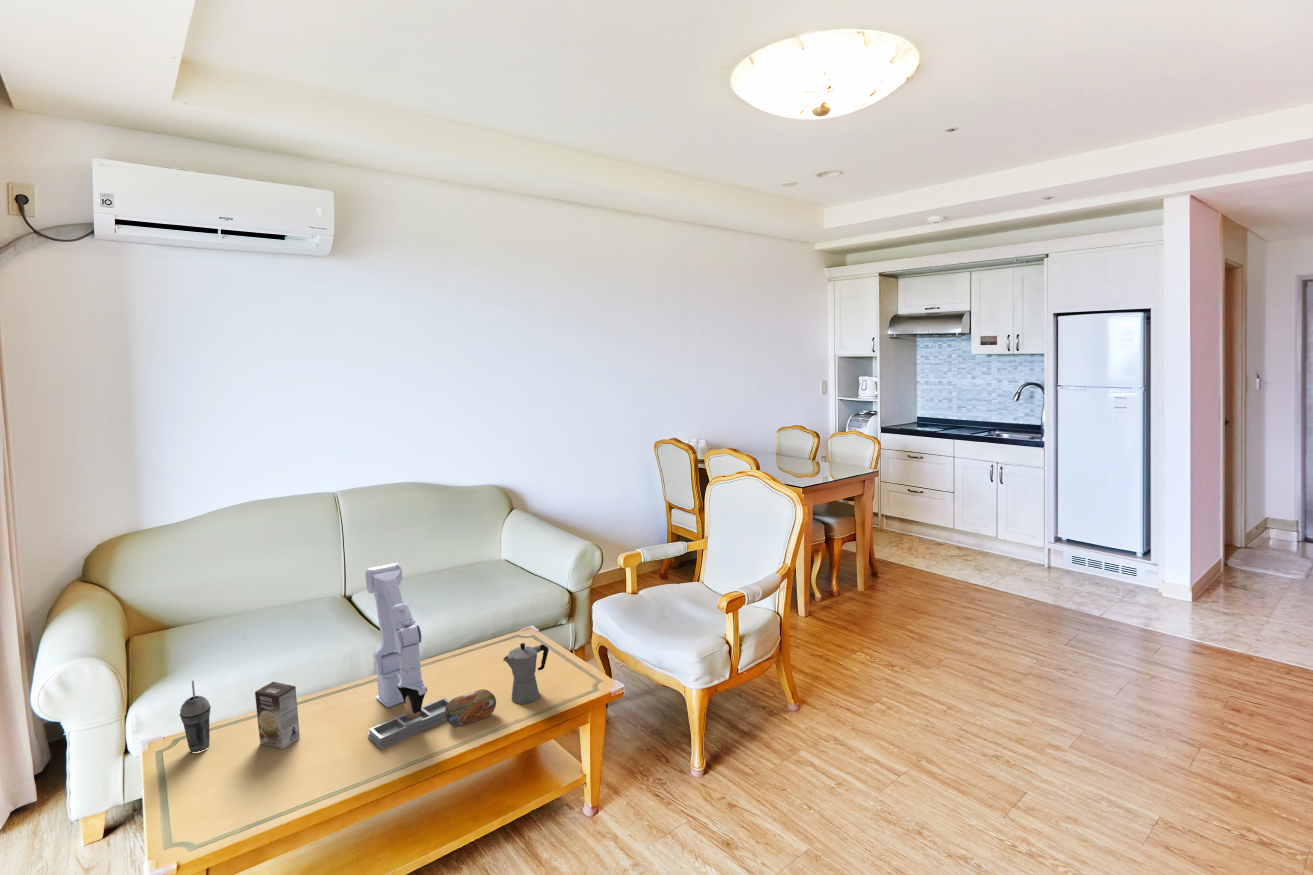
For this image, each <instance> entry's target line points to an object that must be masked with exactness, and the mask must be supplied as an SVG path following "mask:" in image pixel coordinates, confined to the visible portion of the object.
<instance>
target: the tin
mask: <svg viewBox="0 0 1313 875" xmlns="http://www.w3.org/2000/svg"><path fill="white" fill-rule="evenodd" d="M496 698H497V697H495V695H494V694H493V693H492V692H491V691H490V690H488V689H484V688H483V689H478V690H475V691H472V692H469V693H468V692H467V693H465V694H462V695H458V696H456V697H454V698H452V699H451V700H449V701H450V702H449V703H448V705H447V706H446V709H445V717H446V719H447V723H448V724H449V725H450V726H451V727H455V728H459V727H463V726H464V727H465V726H466V725H467V726H468V725H469V724H472V723H475V722H478V721H481V720H484V719H486V718H488V717H490V716H491V714H493V713H494V711H495V708H496V705H497V699H496Z"/></svg>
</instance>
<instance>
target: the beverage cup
mask: <svg viewBox="0 0 1313 875" xmlns="http://www.w3.org/2000/svg"><path fill="white" fill-rule="evenodd" d="M191 690H192V696H191V697H189V698H187V699H186V700H185V701H184V702H183V704H181V707H180V711H179V717H180V719H181V722H182V723H183V728H184V733H185V736H186V741H187V746H188V748H189V751H191V752H198V751H202V750H205V749H206V748H208V747H209V748H210V742H211V741H210V736H211V735H210V715H211V708H212V707H211V705H210V702H209V699H207V698H206V697H204V696H201V695H196V690H195V681H194V680H191ZM209 748H208V749H209Z"/></svg>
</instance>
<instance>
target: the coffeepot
mask: <svg viewBox="0 0 1313 875" xmlns="http://www.w3.org/2000/svg"><path fill="white" fill-rule="evenodd" d="M519 645H520V646H518V647H515V648H514V649H511V650H510V651H509V652H508V654H507V655H505V656H504V658H503V662H505V663H507V665H508V666H509V667H510V669H511V673H512V676H513V681H512V688H511V701H512V702H513V703H515V704H518V705H526V704H527V705H528V704H530V703H533V702H535V701H537V700H538V699H539V698H540V692H539V688H538V682H537V678H536V670H538V671H542V670H544V669H545V666H546V662H547V660H548V659H547V658H548V654H549V651H550V650H549V647H547V646H546V645H545V644H540V645H535V646H529V645H528V646H526V643H524V642H521V643H519ZM542 651H543V653H542V658H541V662H540V664H541V665H540V667H537V659H538V658H537V657H538V653H540V652H542ZM536 668H537V669H536Z"/></svg>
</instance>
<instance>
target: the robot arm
mask: <svg viewBox="0 0 1313 875" xmlns="http://www.w3.org/2000/svg"><path fill="white" fill-rule="evenodd" d="M402 570H403V569H402V567H401V565H400V563H398V562H394V563H390V564H386V565H380V566H376V567H375V566H374V567H368V568H367V569H366V570H365V575H364V576H365V583H366V589H367V592H368V593H369V594H373V595H374V599H375V605H376V606H375V607H376V612H377V619H378V625H379V634H380V639H381V640H380V641H381V644H380V645H379V646H378V647H377V648H376V650H375V651H374V652H373V668H374V672H375V674H376V675H377V680H376V681H377V682H376V683H377V693H378V694H377V695H376V696H375V699H376V700H378V701H379V702H380V703H382V704H383V705H384V706H385V707H386V708H392V707H393V706H396V705H399V704H401V703H404V706H405V707H406V701H405V700H406V696H408V697H409V699H410V702H411V706H412V711H413V713H414V714H415V713H418V712H420V711H421V708H422V707H423V702H424V698H425V695H426V694H427V693H428V687H427V686H426V685H425V683H424V679H423V676H422V665H421V653H420V652H421V651H420V643H422V631H421V627H420V625H419V624H418V623H417V621H416V620H414V618H413V614H412V612H411V609H410V608H409V607H410V606H408V605H407V604H404V601H403V598H402V594H401V590H400V587H399V586H400V585H401V584H402V579H403V571H402Z"/></svg>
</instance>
